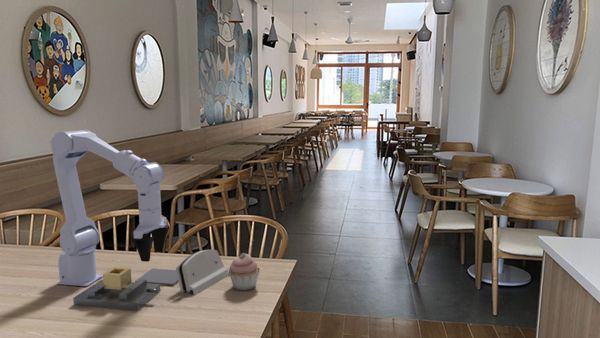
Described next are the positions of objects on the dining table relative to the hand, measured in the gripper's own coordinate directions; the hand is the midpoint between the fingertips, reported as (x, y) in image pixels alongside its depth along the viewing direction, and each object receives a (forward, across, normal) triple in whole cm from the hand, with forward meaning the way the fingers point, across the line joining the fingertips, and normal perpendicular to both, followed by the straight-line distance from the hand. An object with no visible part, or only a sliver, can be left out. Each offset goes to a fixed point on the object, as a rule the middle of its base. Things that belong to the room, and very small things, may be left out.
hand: (152, 256), depth 124 cm
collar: (+6, -6, +7) cm, 11 cm away
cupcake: (+10, +7, -24) cm, 27 cm away
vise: (+10, -6, +6) cm, 13 cm away
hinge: (+10, +8, -11) cm, 17 cm away
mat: (+10, +9, +2) cm, 14 cm away
